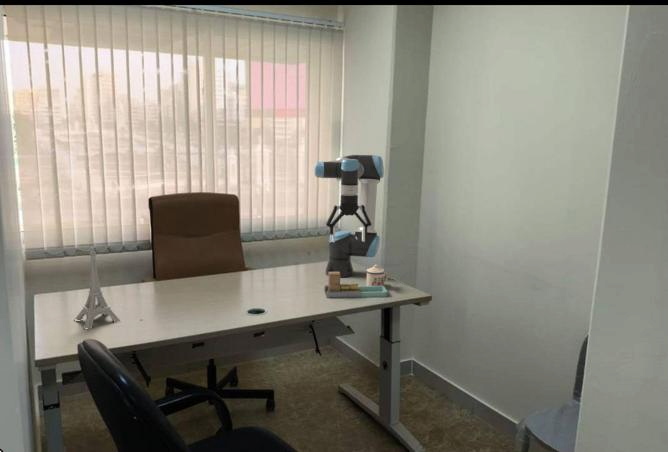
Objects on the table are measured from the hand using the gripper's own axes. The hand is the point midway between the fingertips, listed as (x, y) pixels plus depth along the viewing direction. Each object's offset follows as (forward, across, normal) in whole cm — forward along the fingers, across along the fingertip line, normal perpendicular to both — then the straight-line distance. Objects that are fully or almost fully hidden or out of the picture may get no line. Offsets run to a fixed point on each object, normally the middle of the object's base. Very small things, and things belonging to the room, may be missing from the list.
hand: (348, 241), depth 224 cm
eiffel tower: (+27, -104, -16) cm, 108 cm away
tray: (+27, +13, +4) cm, 30 cm away
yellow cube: (+26, +4, +4) cm, 27 cm away
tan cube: (+26, 0, +5) cm, 27 cm away
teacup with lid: (+28, +18, +16) cm, 37 cm away
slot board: (+27, -1, +5) cm, 28 cm away
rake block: (+26, -5, +5) cm, 27 cm away
